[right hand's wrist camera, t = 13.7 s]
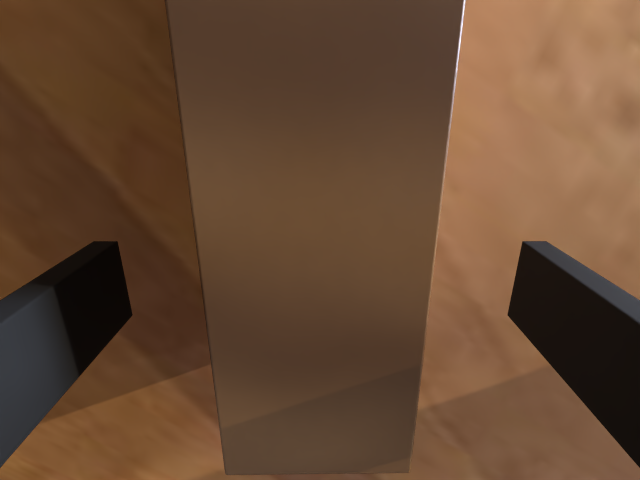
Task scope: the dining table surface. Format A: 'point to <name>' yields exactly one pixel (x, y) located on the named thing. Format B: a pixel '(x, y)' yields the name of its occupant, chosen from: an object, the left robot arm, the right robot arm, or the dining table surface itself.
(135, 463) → the dining table surface
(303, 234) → the post
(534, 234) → the dining table surface
